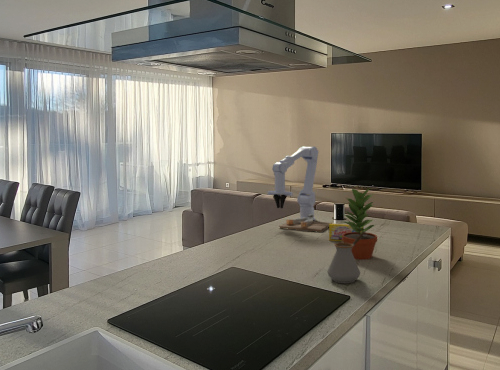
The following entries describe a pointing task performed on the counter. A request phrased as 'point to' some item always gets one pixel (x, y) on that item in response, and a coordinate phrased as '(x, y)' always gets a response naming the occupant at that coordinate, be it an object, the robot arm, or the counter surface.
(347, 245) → the coffee pot
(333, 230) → the candy box
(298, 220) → the tongs swing arm
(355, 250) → the potted plant
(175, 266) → the counter surface
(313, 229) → the walnut board
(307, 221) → the tongs fixed arm
